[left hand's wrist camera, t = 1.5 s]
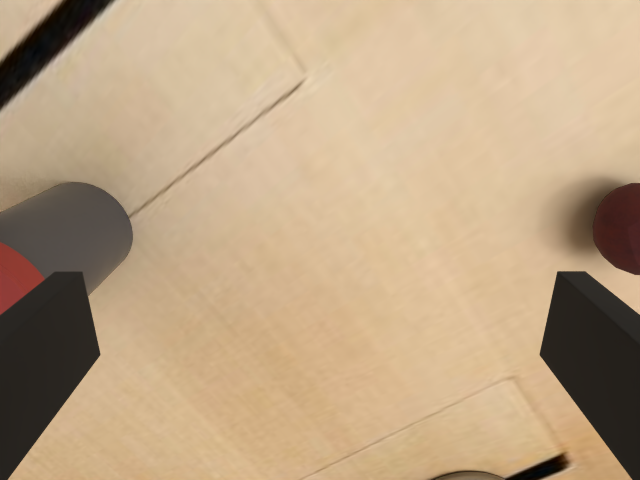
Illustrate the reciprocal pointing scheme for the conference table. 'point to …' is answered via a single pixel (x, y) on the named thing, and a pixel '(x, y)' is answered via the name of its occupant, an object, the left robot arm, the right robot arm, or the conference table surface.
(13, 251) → the lid
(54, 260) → the jar
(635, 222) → the dark red ball
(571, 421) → the conference table surface
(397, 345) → the conference table surface
